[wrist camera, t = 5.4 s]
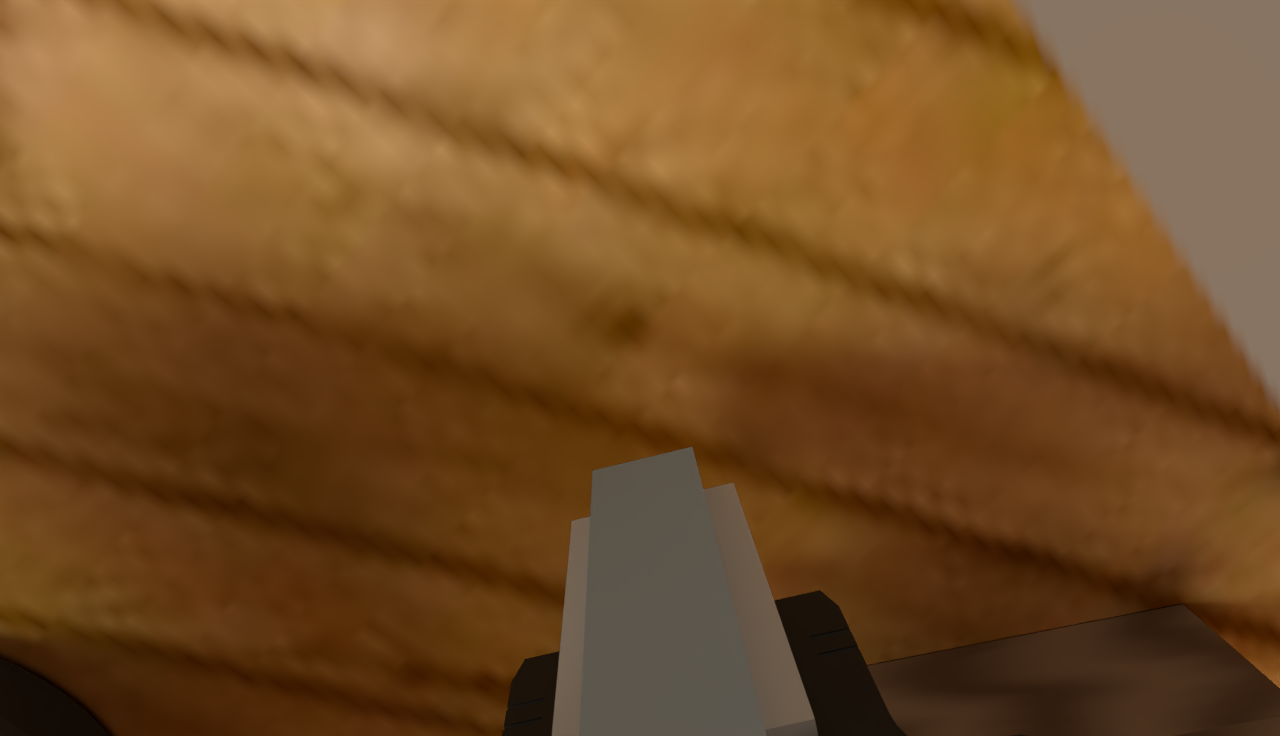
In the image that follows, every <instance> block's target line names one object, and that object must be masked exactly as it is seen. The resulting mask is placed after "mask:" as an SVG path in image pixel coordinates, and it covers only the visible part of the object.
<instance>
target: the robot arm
mask: <svg viewBox="0 0 1280 736" xmlns="http://www.w3.org/2000/svg"><path fill="white" fill-rule="evenodd" d="M704 494H705V497H706V501H707V505H708V509H709V513H710V517H711V521H712V525H713V529H714V532H715V536H716V540H717V544H718V548H719V552H720V556H721V560H722V564H723V568H724V571H725V575H726V579H727V583H728V587H729V591H730V595H731V599H732V603H733V606H734V610H735V614H736V618H737V622H738V626H739V630H740V634H741V638H742V642H743V645H744V649H745V653H746V657H747V661H748V665H749V669H750V673H751V677H752V680H753V684H754V688H755V692H756V696H757V700H758V704H759V708H760V712H761V716H762V719H763V723H764V727H765V731H766V735H767V736H907V735H906V734H905V733H904V732H903V731H902V730H901V729H900V728H899V727H898V726H897V725H896V723H895V721H894V720H893V718H892V717H891V715H890V713H889V711H888V709H887V707H886V705H885V703H884V701H883V698H882V696H881V694H880V692H879V690H878V688H877V686H876V684H875V682H874V679H873V677H872V675H871V673H870V671H869V669H868V667H867V665H866V663H865V661H864V658H863V656H862V654H861V652H860V650H859V649H858V647H857V644H856V642H855V639H854V637H853V635H852V633H851V632H850V630H849V627H848V625H847V623H846V620H845V618H844V616H843V614H842V612H841V610H840V608H839V606H838V605H837V604H835V603H834V602H833V601H832V600H831V599H830V598H828V597H827V596H826V595H825V594H824V593H822V592H821V591H820V590H819V591H815V592H811V593H806V594H802V595H797V596H793V597H789V598H784V599H780V600H775V601H774V599H773V596H772V593H771V590H770V587H769V584H768V581H767V579H766V576H765V573H764V570H763V567H762V564H761V561H760V558H759V555H758V552H757V549H756V547H755V544H754V541H753V538H752V535H751V532H750V529H749V526H748V523H747V520H746V517H745V515H744V512H743V509H742V506H741V503H740V500H739V497H738V494H737V491H736V488H735V486H734V483H729V484H725V485H721V486H717V487H712V488H708V489H704ZM589 529H590V517H586V518H582V519H577V520H573V521H572V526H571V536H570V547H569V558H568V568H567V579H566V589H565V600H564V611H563V621H562V632H561V643H560V651H559V652H554V653H550V654H546V655H541V656H537V657H532V658H528V659H525V660H524V662H523V664H522V665H521V667H520V669H519V670H518V672H517V674H516V675H515V677H514V679H513V681H512V683H511V689H510V694H509V700H508V710H507V711H506V717H505V723H504V728H505V730H504V731H503V734H502V736H579V731H580V711H581V691H582V670H583V650H584V630H585V610H586V590H587V569H588V549H589ZM0 736H109V735H108V734H107V733H106V732H105V731H104V729H103V728H102V727H101V726H100V725H99V724H98V723H97V722H96V721H95V720H94V719H93V718H92V717H91V716H90V715H89V714H88V713H87V712H86V711H85V710H84V709H83V708H82V707H80V706H79V705H78V704H77V703H76V702H74V701H73V700H72V699H71V698H69V697H68V696H67V695H65V694H64V693H62V692H61V691H60V690H58V689H57V688H55V687H54V686H52V685H51V684H49V683H47V682H46V681H44V680H42V679H41V678H39V677H37V676H35V675H34V674H32V673H30V672H28V671H26V670H24V669H22V668H20V667H18V666H16V665H14V664H12V663H10V662H7V661H5V660H3V659H0ZM1012 736H1027V735H1021V734H1020V735H1012Z"/></svg>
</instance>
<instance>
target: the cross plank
mask: <svg viewBox="0 0 1280 736" xmlns="http://www.w3.org/2000/svg"><path fill="white" fill-rule="evenodd" d="M579 736H767V735H766V731H765V727H764V723H763V719H762V716H761V712H760V708H759V704H758V700H757V696H756V692H755V688H754V684H753V680H752V677H751V673H750V669H749V665H748V661H747V657H746V653H745V649H744V645H743V642H742V638H741V634H740V630H739V626H738V622H737V618H736V614H735V610H734V606H733V603H732V599H731V595H730V591H729V587H728V583H727V579H726V575H725V571H724V568H723V564H722V560H721V556H720V552H719V548H718V544H717V540H716V536H715V532H714V529H713V525H712V521H711V517H710V513H709V509H708V505H707V501H706V497H705V494H704V490H703V486H702V482H701V478H700V474H699V470H698V466H697V462H696V458H695V455H694V451H693V447H689V448H685V449H681V450H676V451H672V452H668V453H664V454H660V455H656V456H651V457H647V458H643V459H639V460H635V461H631V462H626V463H622V464H618V465H614V466H610V467H605V468H601V469H597V470H593V471H592V488H591V509H590V529H589V549H588V569H587V590H586V610H585V630H584V650H583V670H582V691H581V711H580V731H579Z"/></svg>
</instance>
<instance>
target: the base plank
mask: <svg viewBox="0 0 1280 736" xmlns="http://www.w3.org/2000/svg"><path fill="white" fill-rule="evenodd" d="M867 667H868V669H869V671H870V673H871V675H872V677H873V679H874V682H875V684H876V686H877V688H878V690H879V692H880V694H881V696H882V698H883V701H884V703H885V705H886V707H887V709H888V711H889V713H890V715H891V717H892V718H893V720H894V721H895V723H896V725H897V726H898V727H899V728H900V729H901V730H902V731H903V732H904V733H905V734H906V735H907V736H1012V735H1020V734H1021V735H1027V736H1280V688H1279V687H1277V686H1276V685H1275V684H1274V683H1273V682H1272V681H1270V680H1269V679H1268V678H1267V677H1266V676H1265V675H1264V674H1262V673H1261V672H1260V671H1259V670H1258V669H1257V668H1256V667H1254V666H1253V665H1252V664H1251V663H1250V662H1249V661H1248V660H1246V659H1245V658H1244V657H1243V656H1242V655H1241V654H1240V653H1238V652H1237V651H1236V650H1235V649H1234V648H1233V647H1232V646H1230V645H1229V644H1228V643H1227V642H1226V641H1225V640H1224V639H1222V638H1221V637H1220V636H1219V635H1218V634H1217V633H1215V632H1214V631H1213V630H1212V629H1211V628H1210V627H1209V626H1207V625H1206V624H1205V623H1204V622H1203V621H1202V620H1201V619H1199V618H1198V617H1197V616H1196V615H1195V614H1194V613H1193V612H1191V611H1190V610H1189V609H1188V608H1187V607H1186V606H1185V605H1183V604H1181V605H1176V606H1171V607H1166V608H1161V609H1156V610H1150V611H1145V612H1140V613H1135V614H1130V615H1125V616H1120V617H1115V618H1109V619H1104V620H1099V621H1094V622H1089V623H1084V624H1079V625H1074V626H1069V627H1063V628H1058V629H1053V630H1048V631H1043V632H1038V633H1033V634H1028V635H1022V636H1017V637H1012V638H1007V639H1002V640H997V641H992V642H987V643H982V644H976V645H971V646H966V647H961V648H956V649H951V650H946V651H941V652H936V653H930V654H925V655H920V656H915V657H910V658H905V659H900V660H895V661H889V662H884V663H879V664H874V665H869V666H867Z"/></svg>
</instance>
